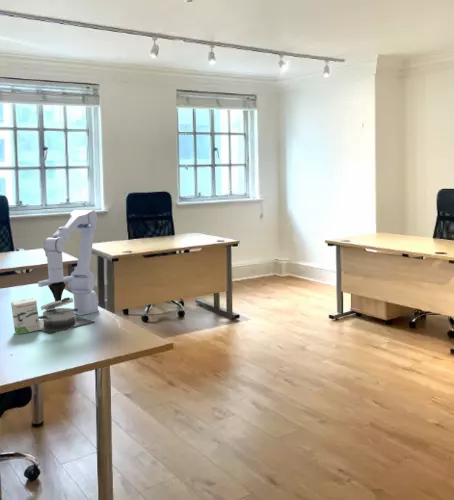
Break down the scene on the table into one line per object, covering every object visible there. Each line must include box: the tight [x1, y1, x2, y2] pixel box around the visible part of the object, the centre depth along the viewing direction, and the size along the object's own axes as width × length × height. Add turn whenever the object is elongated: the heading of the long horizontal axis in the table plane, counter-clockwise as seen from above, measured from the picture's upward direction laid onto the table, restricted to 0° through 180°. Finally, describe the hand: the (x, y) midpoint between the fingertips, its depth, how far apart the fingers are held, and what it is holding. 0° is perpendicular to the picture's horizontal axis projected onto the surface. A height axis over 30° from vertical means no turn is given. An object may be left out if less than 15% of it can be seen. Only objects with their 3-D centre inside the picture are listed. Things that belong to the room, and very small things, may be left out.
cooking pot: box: [38, 307, 95, 335], centre depth 232 cm, size 20×20×5 cm
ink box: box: [10, 297, 40, 335], centre depth 221 cm, size 9×5×12 cm, turn 123°
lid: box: [40, 297, 74, 311], centre depth 231 cm, size 13×16×2 cm
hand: (58, 301), depth 230 cm, fingers closed, pressing on lid
